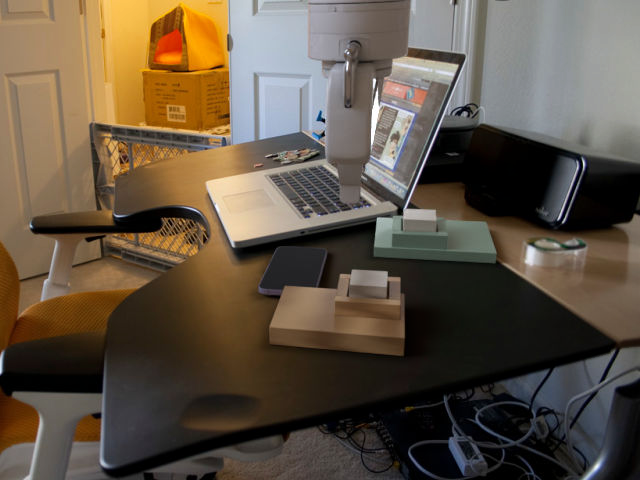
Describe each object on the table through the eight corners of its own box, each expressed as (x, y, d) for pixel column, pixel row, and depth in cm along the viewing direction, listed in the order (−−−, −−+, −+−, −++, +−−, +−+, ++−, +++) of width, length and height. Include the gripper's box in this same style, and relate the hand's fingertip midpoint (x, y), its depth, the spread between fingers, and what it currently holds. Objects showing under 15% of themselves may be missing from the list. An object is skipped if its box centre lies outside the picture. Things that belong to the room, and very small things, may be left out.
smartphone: (328, 248, 90) (315, 292, 76) (328, 255, 90) (315, 301, 77) (277, 245, 92) (256, 288, 78) (277, 252, 92) (256, 296, 78)
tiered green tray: (485, 230, 96) (487, 209, 94) (495, 263, 85) (498, 239, 83) (376, 226, 99) (377, 205, 98) (373, 256, 88) (374, 233, 87)
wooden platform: (403, 308, 74) (405, 277, 73) (403, 356, 65) (405, 322, 64) (285, 299, 78) (285, 270, 76) (269, 344, 68) (268, 311, 67)
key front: (387, 285, 72) (387, 271, 72) (386, 301, 69) (387, 286, 68) (351, 283, 73) (352, 269, 73) (349, 298, 70) (349, 284, 69)
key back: (434, 223, 91) (435, 209, 90) (436, 234, 87) (437, 220, 86) (402, 221, 92) (403, 208, 91) (402, 232, 88) (403, 219, 87)
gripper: (392, 48, 46) (384, 224, 52) (395, 27, 65) (388, 159, 70) (306, 49, 48) (306, 221, 53) (332, 28, 66) (331, 158, 71)
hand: (353, 185), depth 62 cm, fingers open, 8 cm apart
